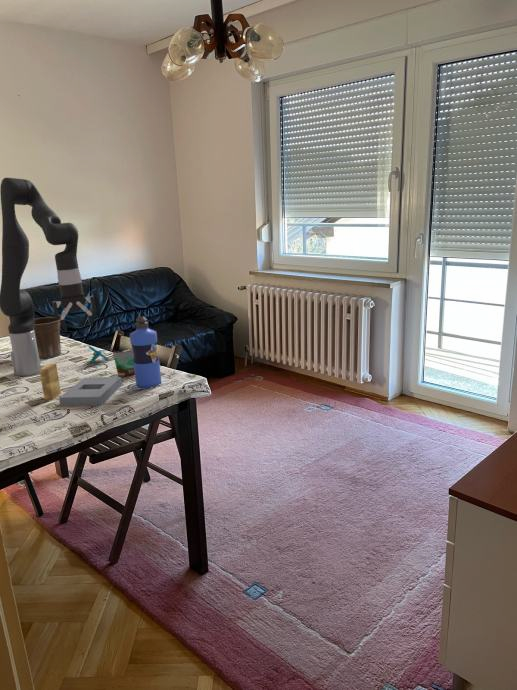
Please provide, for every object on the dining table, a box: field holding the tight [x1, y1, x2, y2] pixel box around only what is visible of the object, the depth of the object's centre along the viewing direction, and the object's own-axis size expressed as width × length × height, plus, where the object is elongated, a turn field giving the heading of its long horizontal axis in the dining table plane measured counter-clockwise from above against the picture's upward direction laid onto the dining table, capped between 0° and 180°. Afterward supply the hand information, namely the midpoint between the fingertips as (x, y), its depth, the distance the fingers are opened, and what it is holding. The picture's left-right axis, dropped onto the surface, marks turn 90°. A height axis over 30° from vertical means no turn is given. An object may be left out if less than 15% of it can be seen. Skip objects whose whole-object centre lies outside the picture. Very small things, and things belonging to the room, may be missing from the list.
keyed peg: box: [39, 363, 62, 401], centre depth 181 cm, size 3×6×11 cm, turn 174°
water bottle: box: [129, 315, 162, 389], centre depth 186 cm, size 9×9×25 cm
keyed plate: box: [58, 376, 123, 407], centre depth 181 cm, size 14×20×3 cm
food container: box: [112, 347, 135, 378], centre depth 201 cm, size 12×6×10 cm, turn 148°
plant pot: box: [34, 316, 62, 360], centre depth 234 cm, size 16×16×16 cm
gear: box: [88, 345, 110, 364], centre depth 221 cm, size 11×6×10 cm
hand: (78, 327), depth 185 cm, fingers open, 8 cm apart
